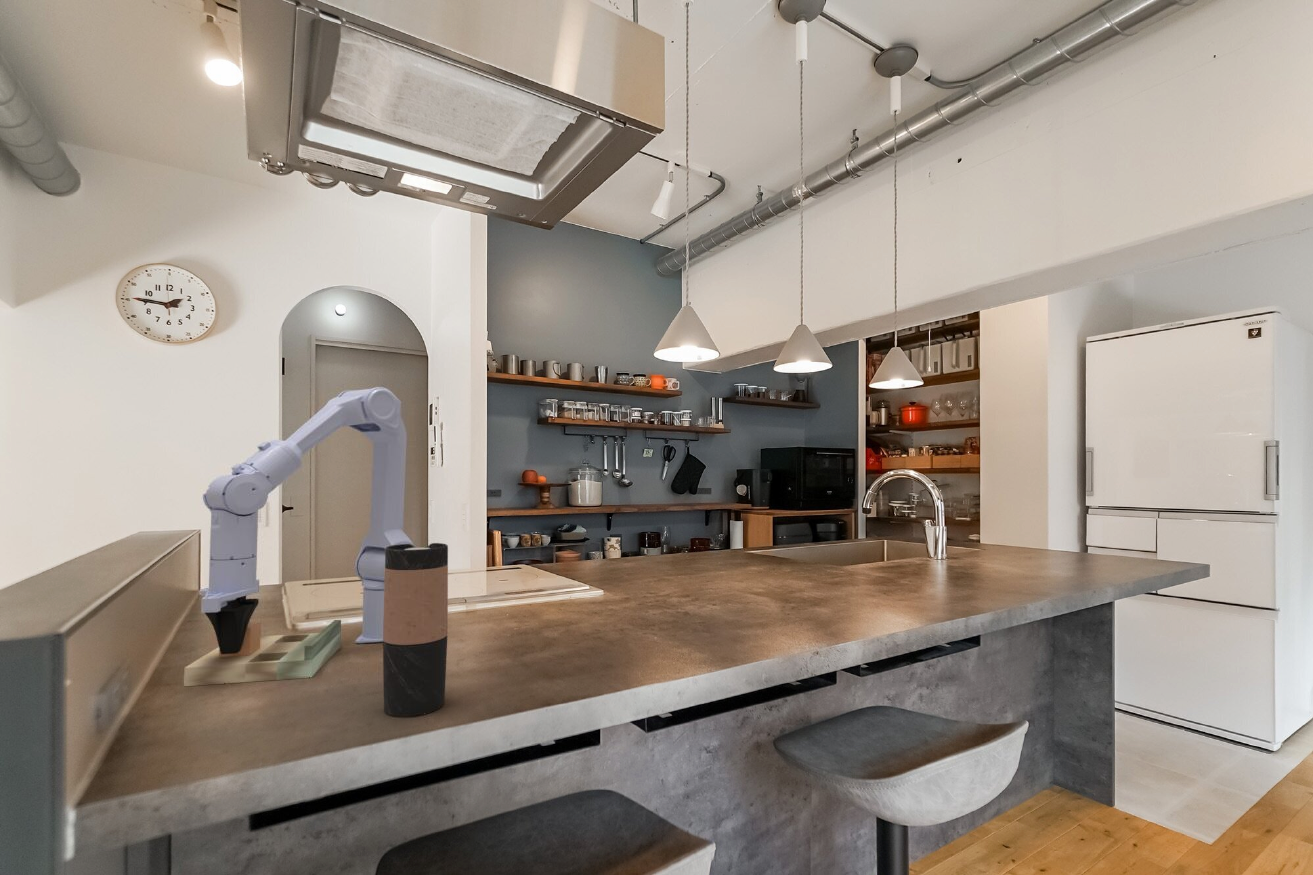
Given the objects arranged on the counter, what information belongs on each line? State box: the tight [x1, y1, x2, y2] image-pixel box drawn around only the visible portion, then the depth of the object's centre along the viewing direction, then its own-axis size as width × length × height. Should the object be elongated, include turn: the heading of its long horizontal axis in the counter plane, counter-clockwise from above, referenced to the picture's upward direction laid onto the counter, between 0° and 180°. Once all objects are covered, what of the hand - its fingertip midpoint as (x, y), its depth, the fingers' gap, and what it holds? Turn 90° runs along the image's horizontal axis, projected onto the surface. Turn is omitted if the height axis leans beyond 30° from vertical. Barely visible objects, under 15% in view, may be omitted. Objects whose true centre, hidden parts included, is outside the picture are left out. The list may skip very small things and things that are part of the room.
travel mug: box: [382, 542, 449, 718], centre depth 80 cm, size 8×8×20 cm
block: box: [219, 621, 262, 657], centre depth 95 cm, size 4×4×4 cm
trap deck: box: [183, 619, 342, 687], centre depth 97 cm, size 16×16×4 cm
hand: (230, 652), depth 91 cm, fingers closed
